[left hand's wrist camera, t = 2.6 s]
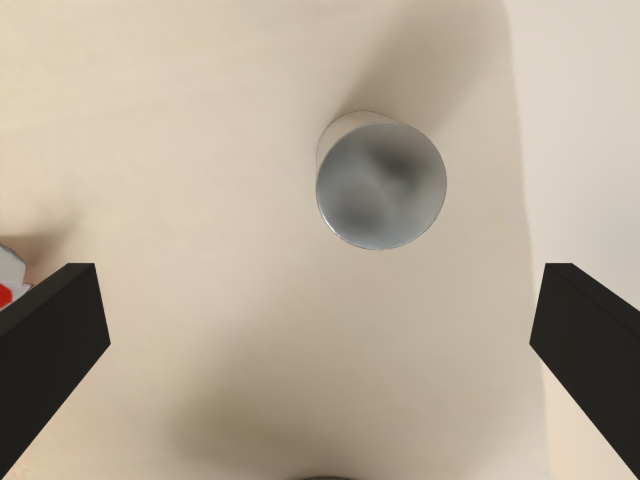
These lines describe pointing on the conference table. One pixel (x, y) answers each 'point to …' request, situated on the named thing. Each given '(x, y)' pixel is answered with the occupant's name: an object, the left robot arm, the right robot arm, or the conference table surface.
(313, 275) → the conference table surface
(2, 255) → the fish
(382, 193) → the can
